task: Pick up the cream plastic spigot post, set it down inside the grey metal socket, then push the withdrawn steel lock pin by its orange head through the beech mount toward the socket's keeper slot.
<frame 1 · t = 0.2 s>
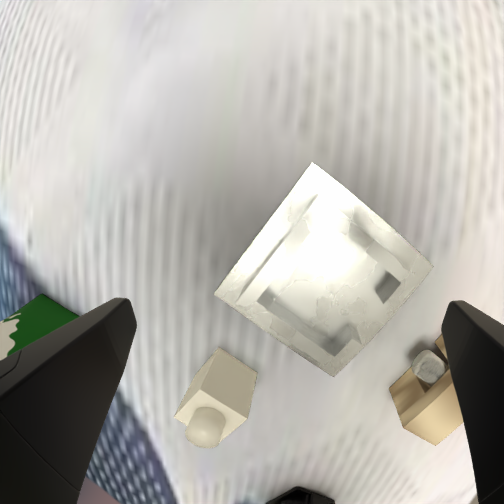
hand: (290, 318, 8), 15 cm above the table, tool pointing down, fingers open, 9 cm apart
mount: (438, 367, 24), on the table
milk carton: (64, 334, 29), on the table
lock pin: (465, 396, 21), point 3 cm above the table, slide at 0.0 cm
socket: (326, 279, 23), on the table
spigot: (225, 374, 27), on the table
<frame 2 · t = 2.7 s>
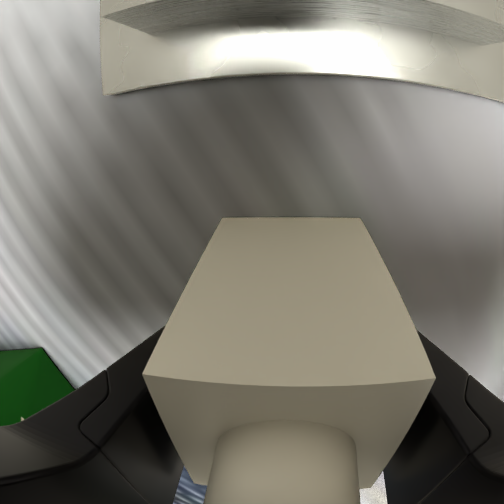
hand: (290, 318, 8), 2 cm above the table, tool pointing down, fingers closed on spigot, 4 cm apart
milk carton: (45, 387, 16), on the table
spigot: (291, 277, 10), on the table, touching gripper
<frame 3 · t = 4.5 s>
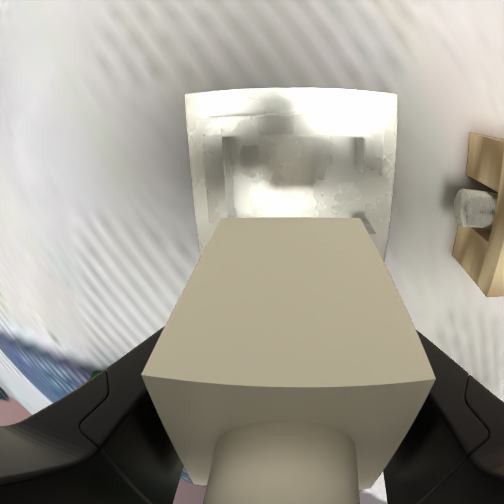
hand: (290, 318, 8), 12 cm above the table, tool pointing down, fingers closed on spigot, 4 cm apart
mount: (490, 199, 17), on the table
socket: (293, 188, 19), on the table
spigot: (290, 278, 10), point 10 cm above the table, touching gripper
when the fingers open (4 cm above the table, at t = 6.2 s): spigot drops 1 cm, resting on socket.
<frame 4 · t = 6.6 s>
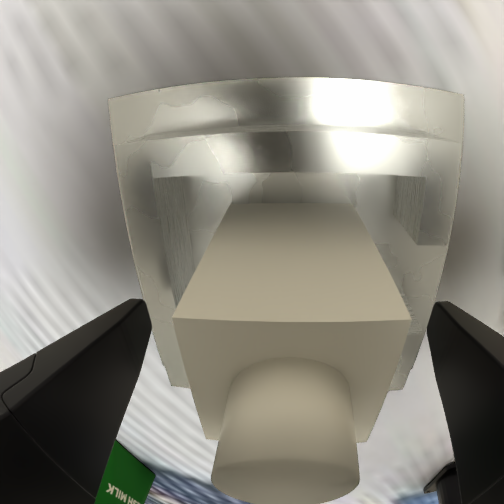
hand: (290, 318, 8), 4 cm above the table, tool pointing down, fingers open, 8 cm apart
milk carton: (107, 451, 23), on the table
socket: (290, 249, 12), on the table
spigot: (291, 258, 11), point 1 cm above the table, touching socket
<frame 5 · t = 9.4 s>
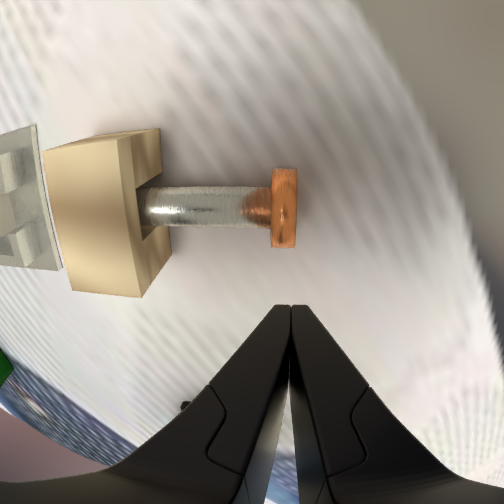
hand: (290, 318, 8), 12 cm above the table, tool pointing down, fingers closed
mount: (130, 195, 20), on the table
lock pin: (163, 206, 18), point 2 cm above the table, slide at 0.0 cm
socket: (3, 203, 22), on the table
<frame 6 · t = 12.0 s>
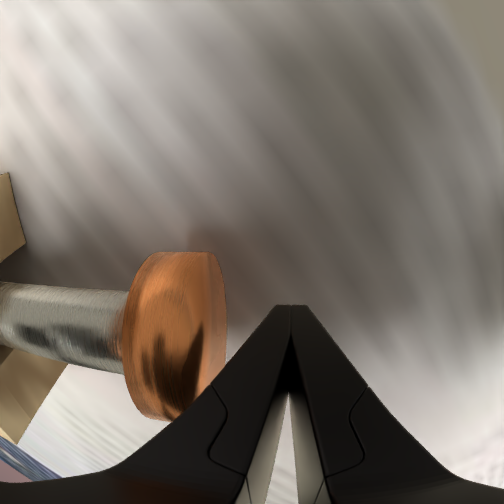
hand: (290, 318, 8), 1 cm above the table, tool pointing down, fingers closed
mount: (3, 274, 11), on the table
lock pin: (7, 314, 8), point 3 cm above the table, slide at 0.4 cm, touching gripper
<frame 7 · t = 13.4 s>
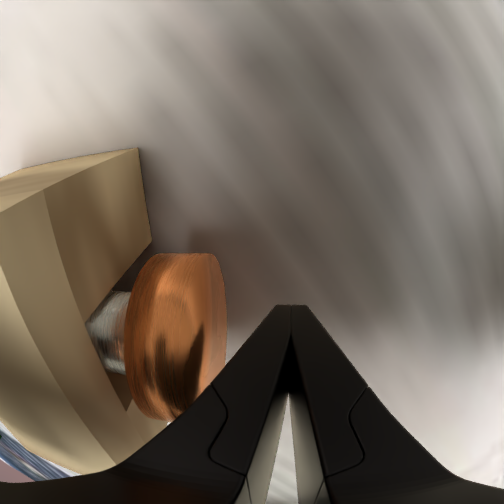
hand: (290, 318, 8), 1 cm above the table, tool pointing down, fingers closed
mount: (97, 280, 10), on the table
lock pin: (7, 313, 8), point 2 cm above the table, slide at 6.0 cm, touching gripper
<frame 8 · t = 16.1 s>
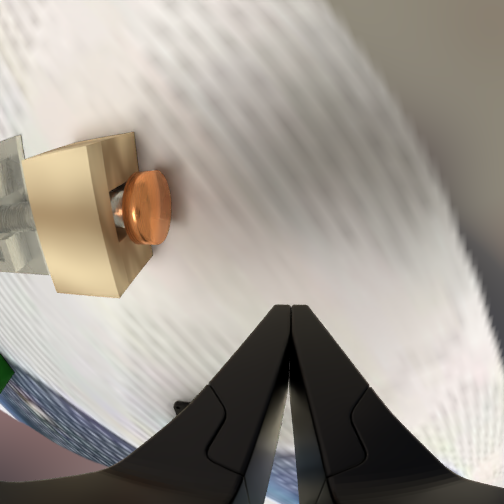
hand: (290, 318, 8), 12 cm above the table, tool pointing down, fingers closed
mount: (110, 198, 20), on the table
lock pin: (61, 213, 18), point 2 cm above the table, slide at 6.0 cm
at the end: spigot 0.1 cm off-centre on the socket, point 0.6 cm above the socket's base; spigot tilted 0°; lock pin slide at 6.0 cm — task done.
